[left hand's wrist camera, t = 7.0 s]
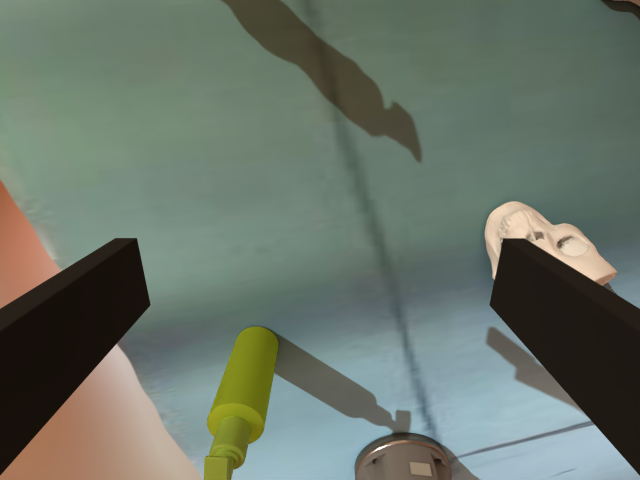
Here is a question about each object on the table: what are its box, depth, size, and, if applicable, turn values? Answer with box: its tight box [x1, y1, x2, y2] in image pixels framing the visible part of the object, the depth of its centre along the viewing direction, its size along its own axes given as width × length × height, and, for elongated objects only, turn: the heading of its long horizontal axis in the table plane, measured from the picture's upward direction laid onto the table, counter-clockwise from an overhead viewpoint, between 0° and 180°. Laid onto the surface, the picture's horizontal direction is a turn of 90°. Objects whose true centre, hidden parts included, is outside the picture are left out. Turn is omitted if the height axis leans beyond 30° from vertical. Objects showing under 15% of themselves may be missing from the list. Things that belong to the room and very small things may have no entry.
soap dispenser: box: [204, 327, 279, 480], centre depth 38 cm, size 6×7×20 cm
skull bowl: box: [485, 201, 617, 285], centre depth 39 cm, size 10×14×12 cm
